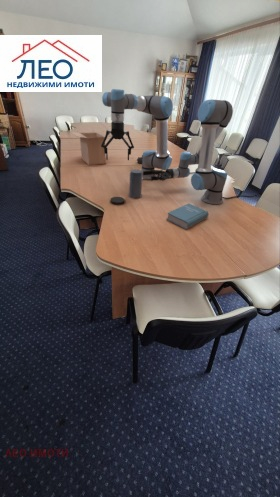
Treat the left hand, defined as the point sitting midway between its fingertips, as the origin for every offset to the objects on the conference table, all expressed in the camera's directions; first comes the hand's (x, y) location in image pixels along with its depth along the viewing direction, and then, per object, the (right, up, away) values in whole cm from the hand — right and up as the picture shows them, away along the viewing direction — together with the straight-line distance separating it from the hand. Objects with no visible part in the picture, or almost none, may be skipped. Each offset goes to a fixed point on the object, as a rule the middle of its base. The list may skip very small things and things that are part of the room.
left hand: (117, 159), depth 142 cm
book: (+45, -38, +2) cm, 59 cm away
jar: (+10, -17, +28) cm, 34 cm away
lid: (-2, -22, +16) cm, 28 cm away
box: (-36, +36, +95) cm, 108 cm away
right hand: (+20, -3, +24) cm, 31 cm away
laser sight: (+22, +34, +98) cm, 107 cm away
